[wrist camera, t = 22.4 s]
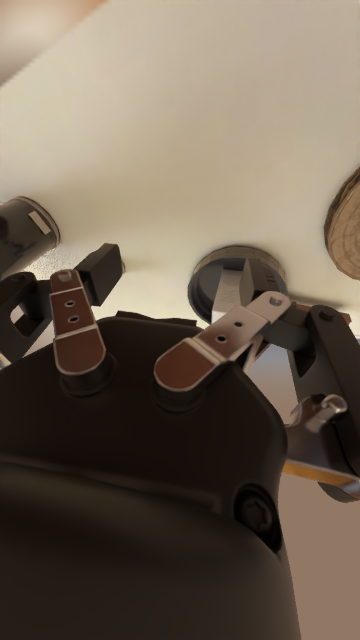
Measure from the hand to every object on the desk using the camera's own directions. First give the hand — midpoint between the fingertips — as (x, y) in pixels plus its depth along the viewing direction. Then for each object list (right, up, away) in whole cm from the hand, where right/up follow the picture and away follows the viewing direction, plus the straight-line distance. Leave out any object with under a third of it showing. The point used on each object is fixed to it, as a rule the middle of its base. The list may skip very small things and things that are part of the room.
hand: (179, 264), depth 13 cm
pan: (+10, +2, +24) cm, 26 cm away
